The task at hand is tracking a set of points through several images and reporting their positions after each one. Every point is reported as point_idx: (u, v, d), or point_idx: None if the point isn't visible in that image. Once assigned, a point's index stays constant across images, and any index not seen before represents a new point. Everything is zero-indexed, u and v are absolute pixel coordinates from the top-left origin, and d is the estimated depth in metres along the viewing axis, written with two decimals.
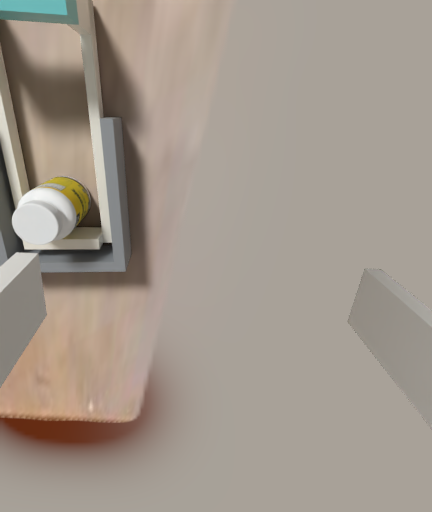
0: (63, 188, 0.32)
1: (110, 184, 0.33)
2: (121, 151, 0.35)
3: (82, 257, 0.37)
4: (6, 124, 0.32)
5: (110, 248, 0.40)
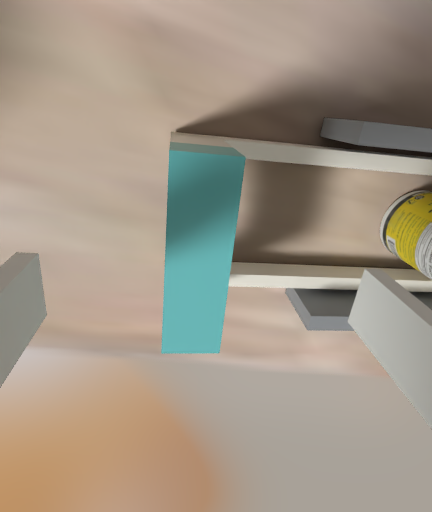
0: None
1: None
2: None
3: None
4: (314, 277, 0.24)
5: None
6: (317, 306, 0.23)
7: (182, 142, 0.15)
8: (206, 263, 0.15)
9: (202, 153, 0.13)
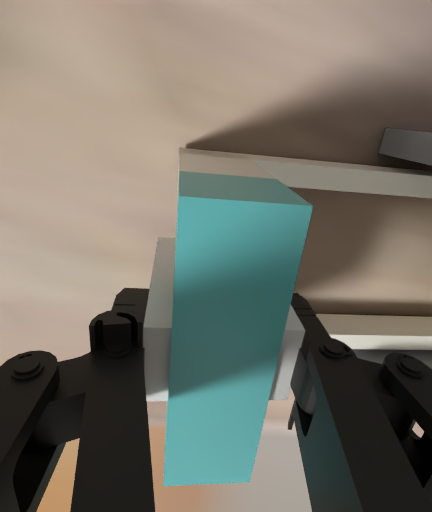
0: None
1: None
2: None
3: None
4: (365, 335, 0.18)
5: None
6: None
7: (198, 171, 0.10)
8: (236, 368, 0.09)
9: (237, 201, 0.07)
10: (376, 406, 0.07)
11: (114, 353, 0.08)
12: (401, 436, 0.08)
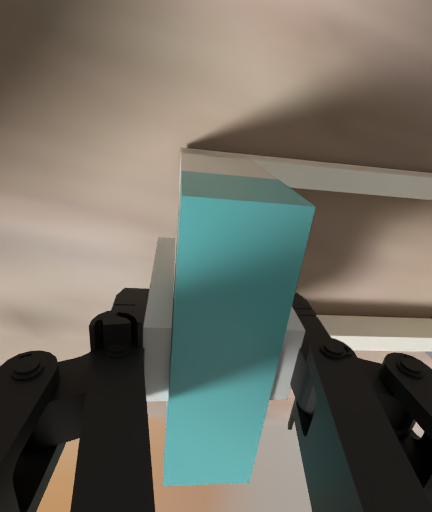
0: None
1: None
2: None
3: None
4: (365, 336, 0.18)
5: None
6: None
7: (200, 171, 0.10)
8: (237, 369, 0.09)
9: (240, 201, 0.07)
10: (376, 406, 0.07)
11: (114, 353, 0.08)
12: (401, 436, 0.08)
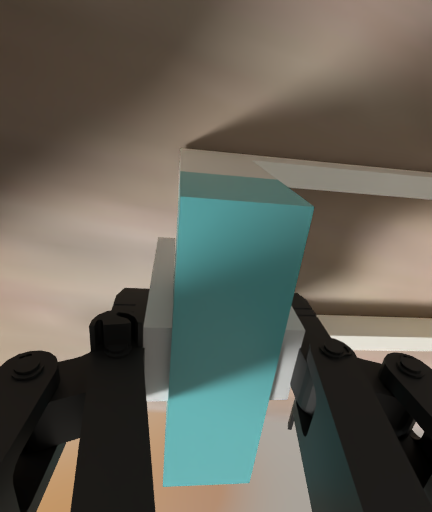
0: None
1: None
2: None
3: None
4: (365, 336, 0.18)
5: None
6: None
7: (199, 171, 0.10)
8: (236, 369, 0.09)
9: (239, 201, 0.07)
10: (376, 406, 0.07)
11: (114, 353, 0.08)
12: (401, 436, 0.08)
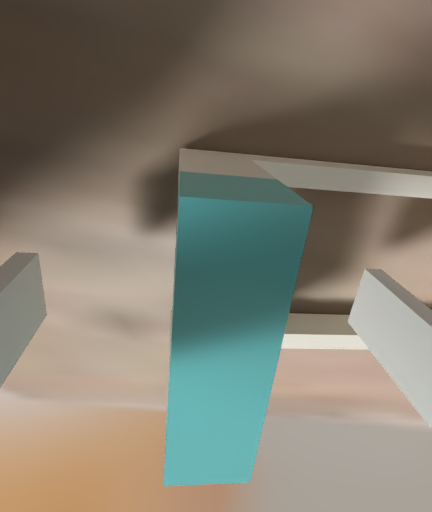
0: None
1: None
2: None
3: None
4: None
5: None
6: None
7: (198, 171, 0.10)
8: (236, 368, 0.09)
9: (238, 201, 0.07)
10: None
11: None
12: None
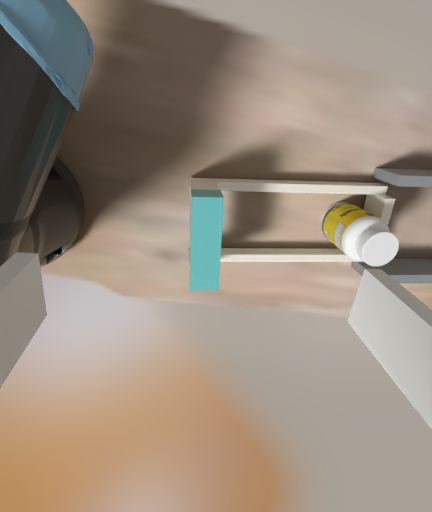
0: (342, 223, 0.37)
1: None
2: (408, 170, 0.39)
3: None
4: (275, 254, 0.41)
5: None
6: None
7: (196, 189, 0.33)
8: (209, 244, 0.32)
9: (205, 197, 0.30)
10: None
11: None
12: None
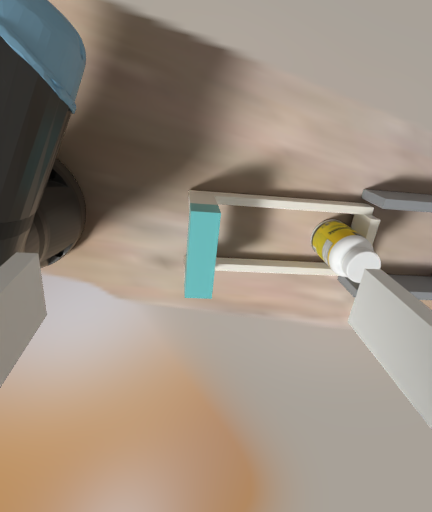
0: (329, 240, 0.39)
1: (430, 208, 0.39)
2: (394, 193, 0.42)
3: None
4: (266, 266, 0.43)
5: None
6: (358, 285, 0.44)
7: (195, 202, 0.35)
8: (205, 256, 0.34)
9: (203, 212, 0.32)
10: None
11: None
12: None
